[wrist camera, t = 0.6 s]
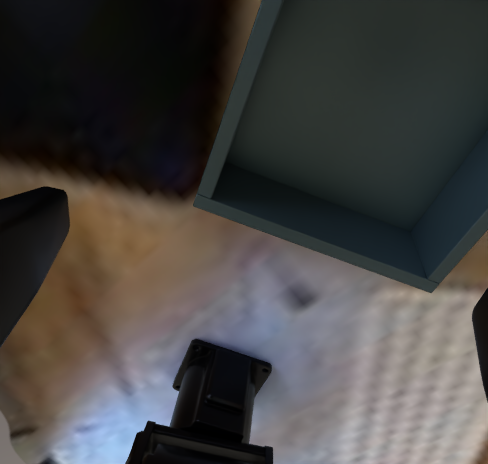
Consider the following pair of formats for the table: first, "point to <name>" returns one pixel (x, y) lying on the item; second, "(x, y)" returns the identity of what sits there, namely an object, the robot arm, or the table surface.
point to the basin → (360, 133)
